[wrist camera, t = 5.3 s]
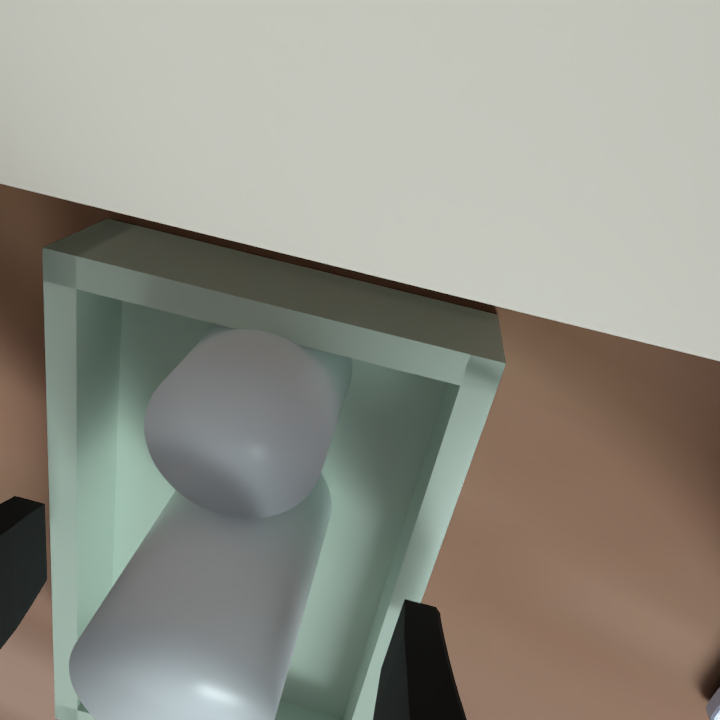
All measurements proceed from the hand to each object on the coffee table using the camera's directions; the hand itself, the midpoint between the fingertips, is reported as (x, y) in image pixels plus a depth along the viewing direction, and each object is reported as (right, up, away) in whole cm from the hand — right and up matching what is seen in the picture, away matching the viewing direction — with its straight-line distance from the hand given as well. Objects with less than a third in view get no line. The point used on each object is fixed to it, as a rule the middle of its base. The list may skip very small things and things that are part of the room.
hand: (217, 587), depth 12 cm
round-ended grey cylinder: (0, +1, +2) cm, 3 cm away
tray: (0, +1, +3) cm, 3 cm away
